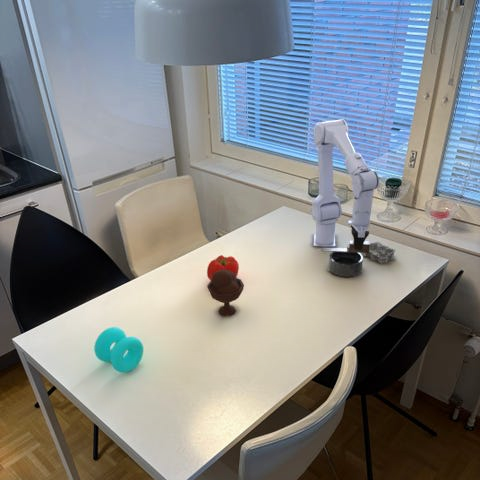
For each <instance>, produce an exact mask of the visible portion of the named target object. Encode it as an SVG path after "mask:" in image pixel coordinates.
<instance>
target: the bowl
mask: <svg viewBox="0 0 480 480" xmlns="http://www.w3.org/2000/svg"><path fill="white" fill-rule="evenodd" d="M363 261H364V255H362V253H353V252H330V254H329V257H328V270H329V272H331V274H333V275H335V276H338V277H344V278H345V277H347V278H349V277H355V276H358V275H359V274H361V272H362V271H363V270H362V269H363Z"/></svg>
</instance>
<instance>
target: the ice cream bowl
mask: <svg viewBox="0 0 480 480" xmlns="http://www.w3.org/2000/svg"><path fill="white" fill-rule="evenodd" d="M237 277H238V276H237ZM237 277H236V274H234V273H233V272H231V271H228V270H219V271H217V272H215V273H214V274H213V276H212V279H211V280H210V281H209V283H208V284H207V286H206V287H207V290H208V292H209V294H210V296H211V298H212V299H213V300H215V301H216V302H220V303H222V304H223V305H222V306H220V307H219V308H218V314H219V315H220V316H223V317H231V316H234V315H235V314H236V312H237V309H236V307H235V306H233V305H231V304H230V303H233V302H234V301H236V300H238V299H239V298H240V297H241V295H242V293H243V291H244V288H245V284H244V282H243V281H242V279H240V278H237Z"/></svg>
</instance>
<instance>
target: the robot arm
mask: <svg viewBox="0 0 480 480" xmlns="http://www.w3.org/2000/svg"><path fill="white" fill-rule="evenodd" d="M313 141H314V142H313V145H314V147H315V148H317V166H318V167H317V168H318V170H317V171H318V191H319V192H318V195H317V197H315V198H314V199H313V200H312V204H311V205H312V206H311V217H312V220H313V221H315V231H314V232H315V233H314V234H313V246H314V247H321V248H336V234H335V233H336V223H337V222H338V220H339V218H341V216H342V213H343V209H342V208H343V207H342V204H341V199H340V197H339V196H337V195H336V194H335V191H334V188H335V187H334V160H333V157H334V156H333V149H334V147H335V146H336V148H337V149H338V151H339V152H340V154H341V155H342V157H343V158H344V159H345V160H344V166H345V169H346V170H347V172H348V174H349V175H350V177H351V186H352V195H353V204H352V214H351V219H350V220H348V221H347V225H348V226H350V228H351V229H350V231H351V235H352V238H353V241H354V247H355V250H361V249H362V247H363V244H364V241H366V239H367V238H368V237H369V235H370V231H369V230H368V229H369V227H370V226H371V215H372V208H373V199H374V192H375V191H374V190H376V189H378V187H379V184H380V182H379V181H380V179H379V174H378V172H377V171H376V170H375V169H372V167H371V168H370V167H369V166H368V165H367V163H366V161H365V159H364V157H363V156H362V154H361V153H359V152H356V150H355V148H354V146H353V144H352V142H351V140H350V138H349V126H348V123H347V121H346V120H345V119H344V118H340V119H337V120H328V121H322V122H321V121H319V122H317V123H316V124H315V125H314V127H313Z"/></svg>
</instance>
